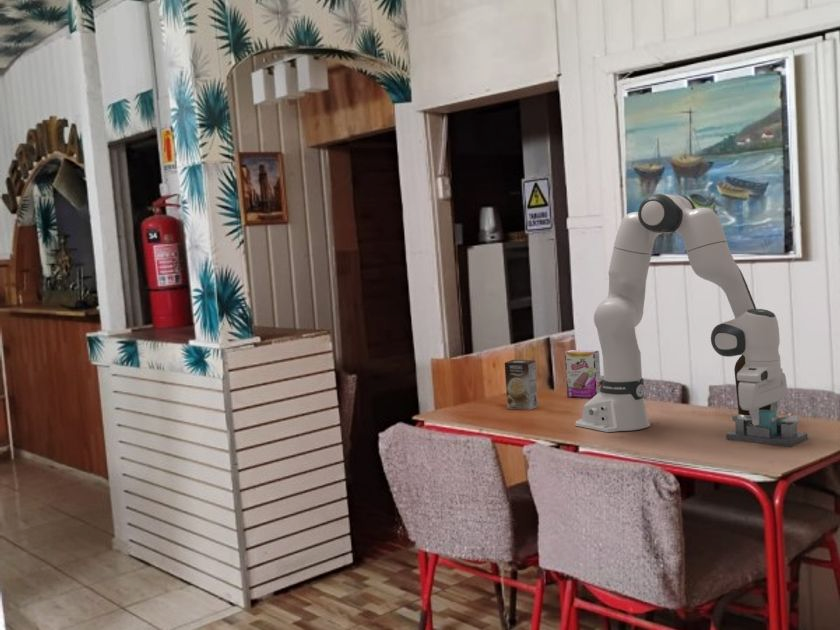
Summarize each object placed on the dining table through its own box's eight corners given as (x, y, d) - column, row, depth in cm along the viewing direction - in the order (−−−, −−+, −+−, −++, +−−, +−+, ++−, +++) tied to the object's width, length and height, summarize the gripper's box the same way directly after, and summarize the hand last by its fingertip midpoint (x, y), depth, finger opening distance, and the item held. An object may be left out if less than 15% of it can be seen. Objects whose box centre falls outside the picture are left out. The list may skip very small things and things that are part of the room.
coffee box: (506, 409, 320) (503, 362, 318) (514, 405, 325) (511, 359, 324) (530, 410, 315) (527, 362, 314) (538, 406, 320) (535, 359, 319)
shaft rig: (725, 439, 256) (724, 412, 255) (744, 431, 262) (742, 405, 262) (790, 446, 243) (789, 418, 242) (807, 438, 249) (806, 411, 249)
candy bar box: (566, 398, 331) (564, 351, 330) (572, 395, 336) (569, 349, 334) (597, 398, 326) (594, 352, 324) (602, 396, 330) (599, 349, 328)
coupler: (753, 434, 253) (752, 412, 252) (760, 431, 256) (759, 409, 255) (771, 436, 249) (770, 413, 249) (778, 432, 252) (777, 410, 251)
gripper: (770, 363, 260) (772, 412, 261) (733, 375, 246) (735, 427, 248) (792, 364, 256) (794, 414, 257) (756, 376, 242) (758, 429, 243)
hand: (765, 421), depth 252 cm, fingers open, 8 cm apart
